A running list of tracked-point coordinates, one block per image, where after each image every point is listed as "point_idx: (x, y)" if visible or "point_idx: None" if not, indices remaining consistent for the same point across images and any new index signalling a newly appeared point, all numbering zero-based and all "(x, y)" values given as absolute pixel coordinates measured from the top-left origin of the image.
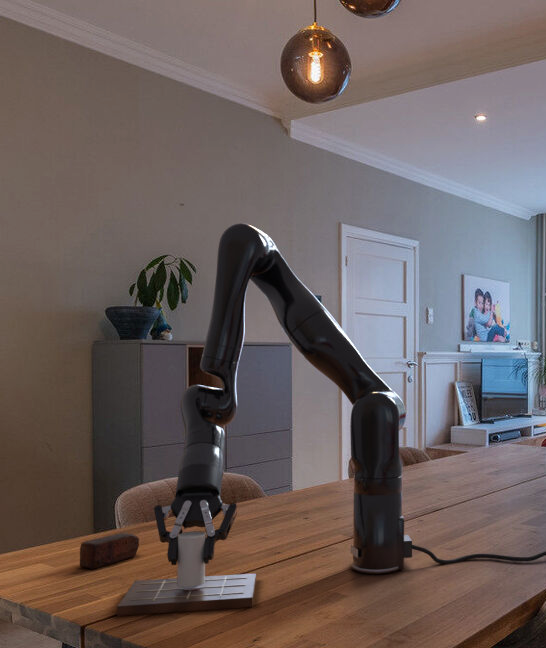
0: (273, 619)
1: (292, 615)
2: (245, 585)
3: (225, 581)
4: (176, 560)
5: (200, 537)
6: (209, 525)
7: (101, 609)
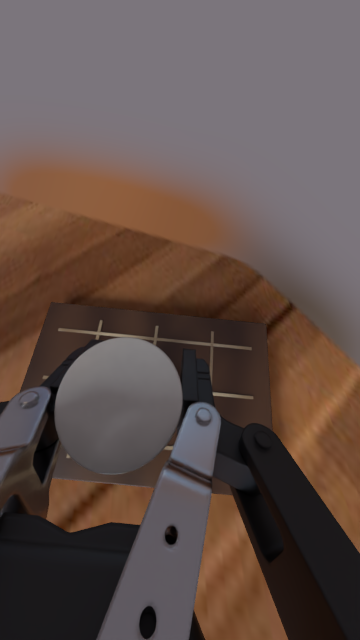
0: (46, 253)
1: (17, 260)
2: (43, 376)
3: None
4: (180, 374)
5: (89, 349)
6: (2, 445)
7: (293, 369)
